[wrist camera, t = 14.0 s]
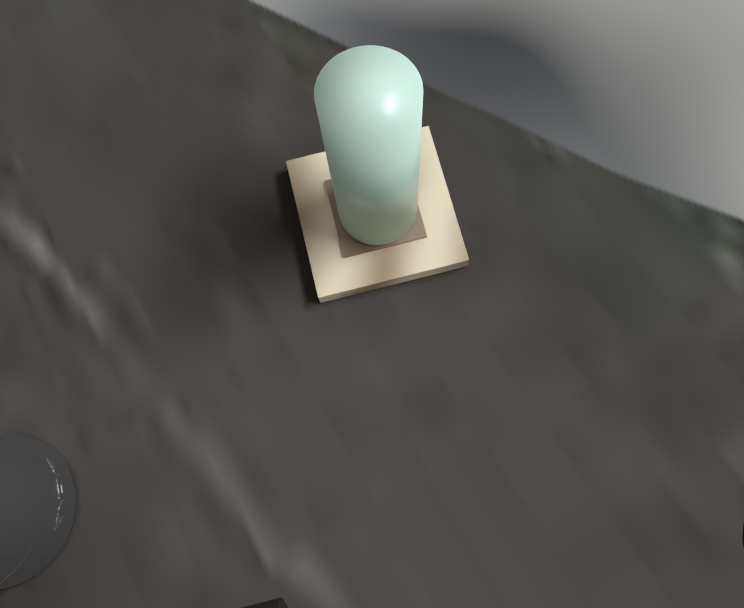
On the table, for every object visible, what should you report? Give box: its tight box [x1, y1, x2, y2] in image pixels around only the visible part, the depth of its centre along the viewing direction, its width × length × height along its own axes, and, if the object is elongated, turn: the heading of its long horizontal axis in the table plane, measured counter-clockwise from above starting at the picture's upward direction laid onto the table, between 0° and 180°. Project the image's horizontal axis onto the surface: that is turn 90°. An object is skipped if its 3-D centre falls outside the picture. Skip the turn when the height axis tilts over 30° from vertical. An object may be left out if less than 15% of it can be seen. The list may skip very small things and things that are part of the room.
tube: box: [314, 45, 423, 245], centre depth 39 cm, size 5×5×13 cm
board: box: [286, 126, 469, 303], centre depth 46 cm, size 10×10×1 cm
